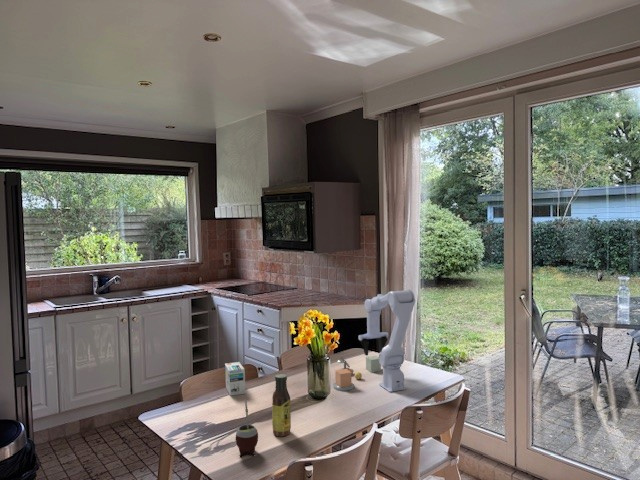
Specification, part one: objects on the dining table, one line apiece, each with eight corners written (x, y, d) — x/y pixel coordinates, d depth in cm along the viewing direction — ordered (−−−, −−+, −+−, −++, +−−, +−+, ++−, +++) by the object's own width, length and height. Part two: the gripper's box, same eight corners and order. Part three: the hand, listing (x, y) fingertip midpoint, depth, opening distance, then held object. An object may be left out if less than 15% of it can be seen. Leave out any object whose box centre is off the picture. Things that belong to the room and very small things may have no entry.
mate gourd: (247, 461, 142) (245, 413, 141) (229, 453, 147) (228, 406, 146) (264, 451, 148) (263, 404, 147) (246, 443, 152) (245, 399, 152)
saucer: (357, 388, 199) (357, 387, 199) (338, 392, 195) (338, 390, 195) (348, 381, 207) (348, 380, 207) (330, 385, 204) (330, 383, 204)
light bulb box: (245, 393, 195) (245, 368, 195) (229, 396, 193) (229, 370, 192) (240, 385, 205) (239, 361, 205) (225, 387, 203) (224, 363, 202)
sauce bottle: (288, 438, 156) (287, 380, 155) (270, 436, 157) (269, 378, 156) (293, 429, 162) (292, 373, 161) (275, 427, 164) (274, 372, 162)
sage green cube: (380, 370, 221) (380, 358, 220) (371, 372, 219) (371, 359, 219) (375, 367, 226) (375, 355, 225) (366, 369, 224) (365, 356, 223)
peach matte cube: (351, 386, 200) (351, 372, 200) (340, 387, 198) (340, 374, 198) (346, 382, 205) (346, 368, 204) (335, 383, 203) (335, 370, 202)
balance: (354, 374, 216) (354, 362, 216) (347, 376, 214) (346, 364, 214) (343, 366, 228) (343, 355, 228) (335, 367, 226) (335, 356, 226)
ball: (363, 379, 210) (362, 372, 209) (356, 380, 208) (356, 373, 208) (359, 377, 212) (359, 370, 212) (353, 378, 211) (353, 371, 211)
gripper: (382, 321, 221) (383, 349, 221) (355, 324, 215) (355, 353, 216) (390, 324, 214) (390, 353, 215) (362, 327, 209) (362, 357, 210)
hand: (373, 353), depth 215 cm, fingers open, 7 cm apart
